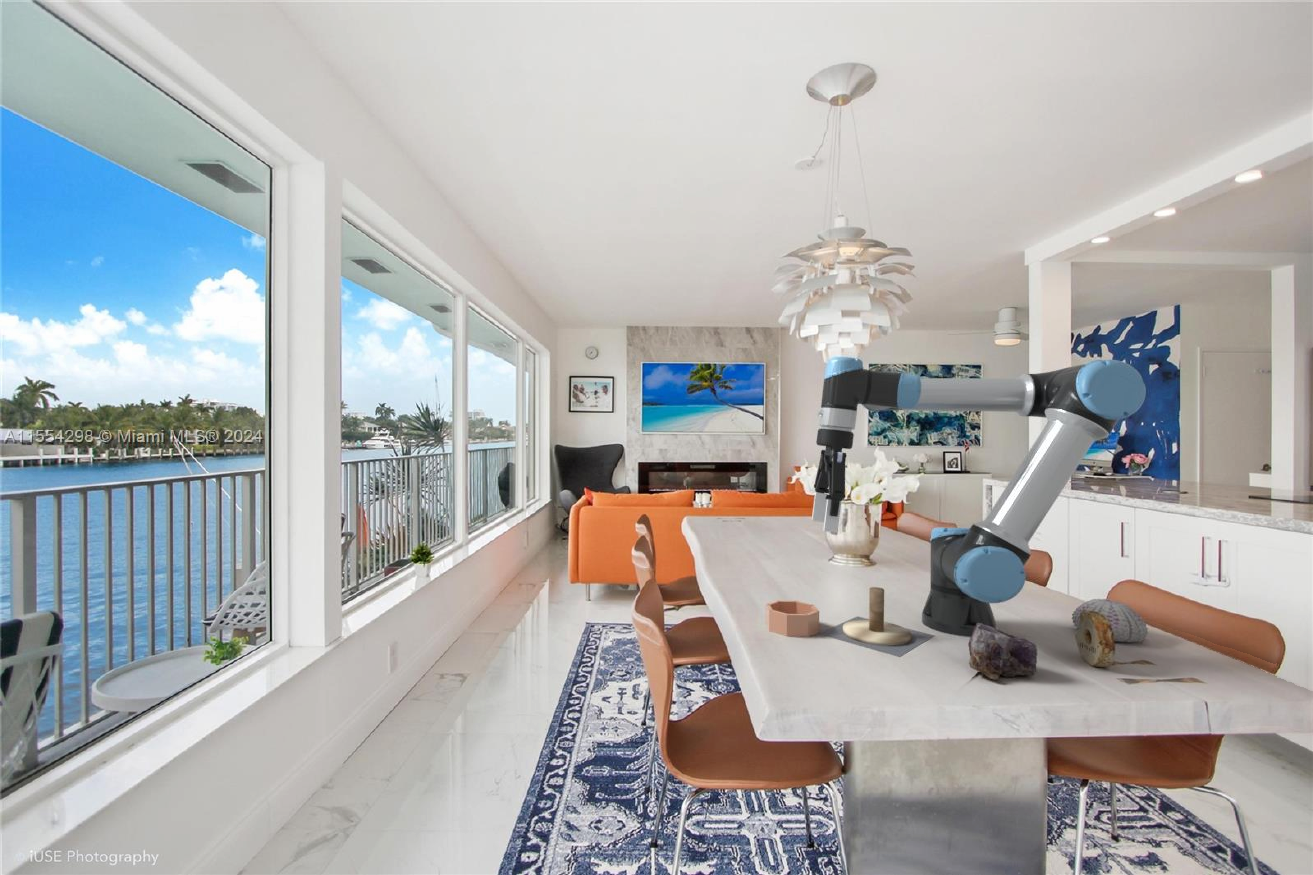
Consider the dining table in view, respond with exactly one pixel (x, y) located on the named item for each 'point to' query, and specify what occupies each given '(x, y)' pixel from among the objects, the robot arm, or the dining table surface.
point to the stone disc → (1095, 639)
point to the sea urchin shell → (1116, 619)
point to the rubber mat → (898, 651)
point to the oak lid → (876, 625)
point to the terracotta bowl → (792, 618)
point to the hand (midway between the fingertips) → (823, 526)
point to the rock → (1000, 653)
